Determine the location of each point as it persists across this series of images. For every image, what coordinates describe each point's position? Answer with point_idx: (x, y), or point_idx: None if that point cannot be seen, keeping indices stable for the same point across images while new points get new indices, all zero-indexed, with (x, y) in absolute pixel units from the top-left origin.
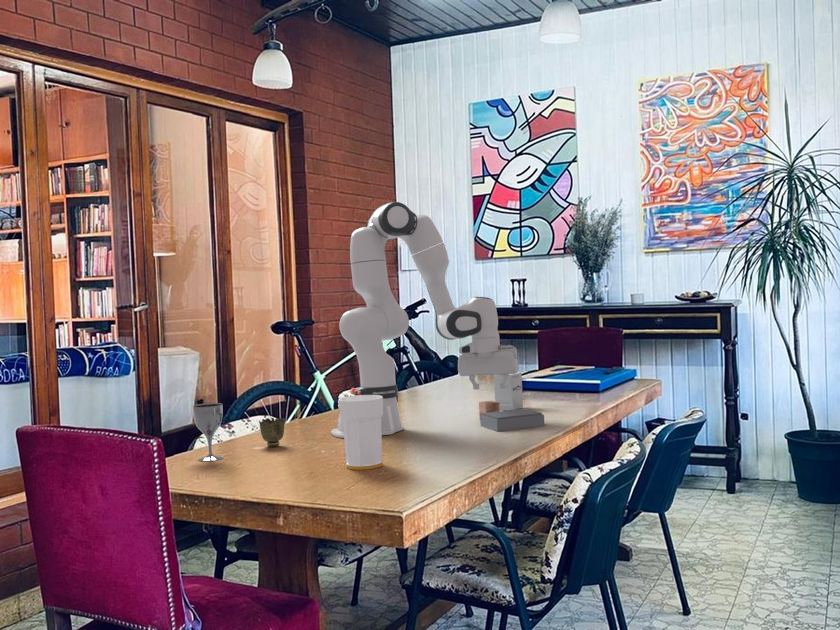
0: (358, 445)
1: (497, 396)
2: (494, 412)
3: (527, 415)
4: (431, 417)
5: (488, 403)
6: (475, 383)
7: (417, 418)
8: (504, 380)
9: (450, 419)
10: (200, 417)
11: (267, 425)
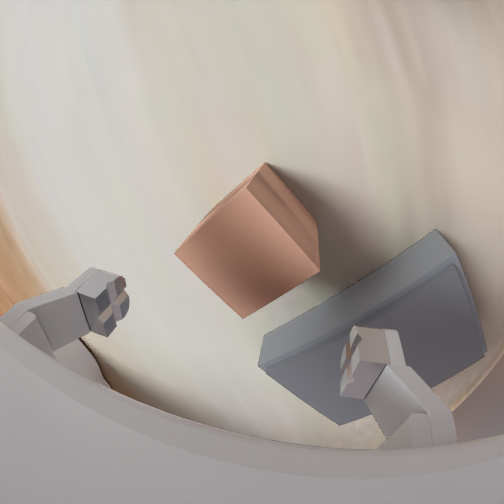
0: None
1: None
2: (315, 362)
3: (435, 381)
4: (30, 168)
5: (258, 309)
6: (81, 317)
7: (15, 193)
8: (389, 424)
9: (91, 199)
10: None
11: None
